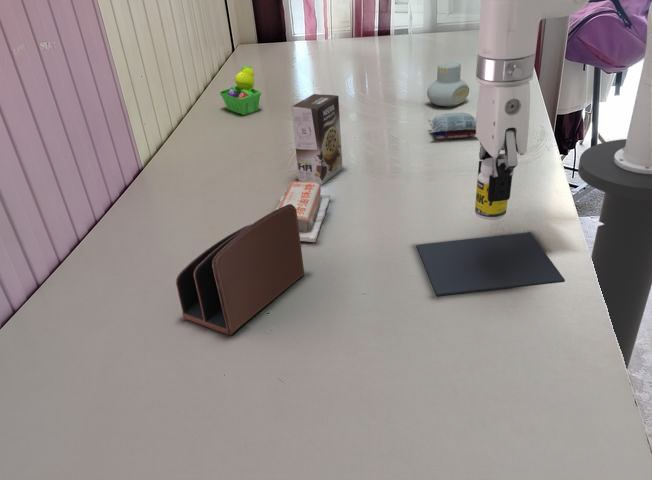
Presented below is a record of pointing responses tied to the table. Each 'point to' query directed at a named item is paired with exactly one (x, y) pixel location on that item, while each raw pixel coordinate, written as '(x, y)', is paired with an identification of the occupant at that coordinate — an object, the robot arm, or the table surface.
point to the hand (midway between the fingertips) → (493, 191)
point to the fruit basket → (242, 93)
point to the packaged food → (453, 125)
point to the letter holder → (242, 272)
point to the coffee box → (317, 137)
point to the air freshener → (448, 85)
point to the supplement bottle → (482, 204)
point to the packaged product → (306, 207)
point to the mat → (487, 264)
